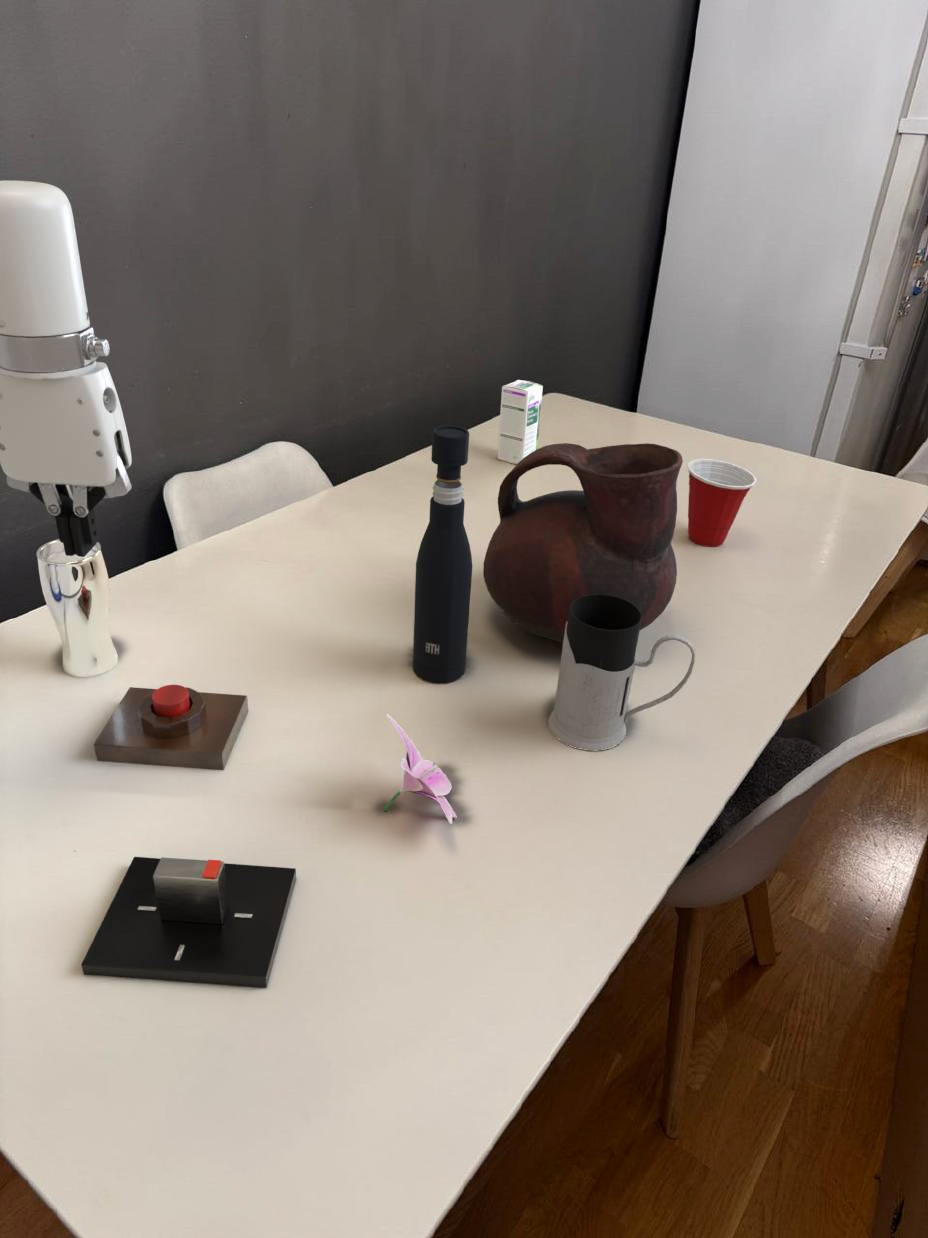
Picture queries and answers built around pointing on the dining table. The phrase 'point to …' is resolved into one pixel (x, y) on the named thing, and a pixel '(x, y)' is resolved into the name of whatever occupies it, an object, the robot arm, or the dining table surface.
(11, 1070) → the dining table surface
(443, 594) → the black insulated flask
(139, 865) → the panel
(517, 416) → the syrup box
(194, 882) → the hob knob
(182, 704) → the power button
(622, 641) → the glass holder
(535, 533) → the jug
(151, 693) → the switch block
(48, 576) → the beer glass
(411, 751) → the lily
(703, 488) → the plastic cup
